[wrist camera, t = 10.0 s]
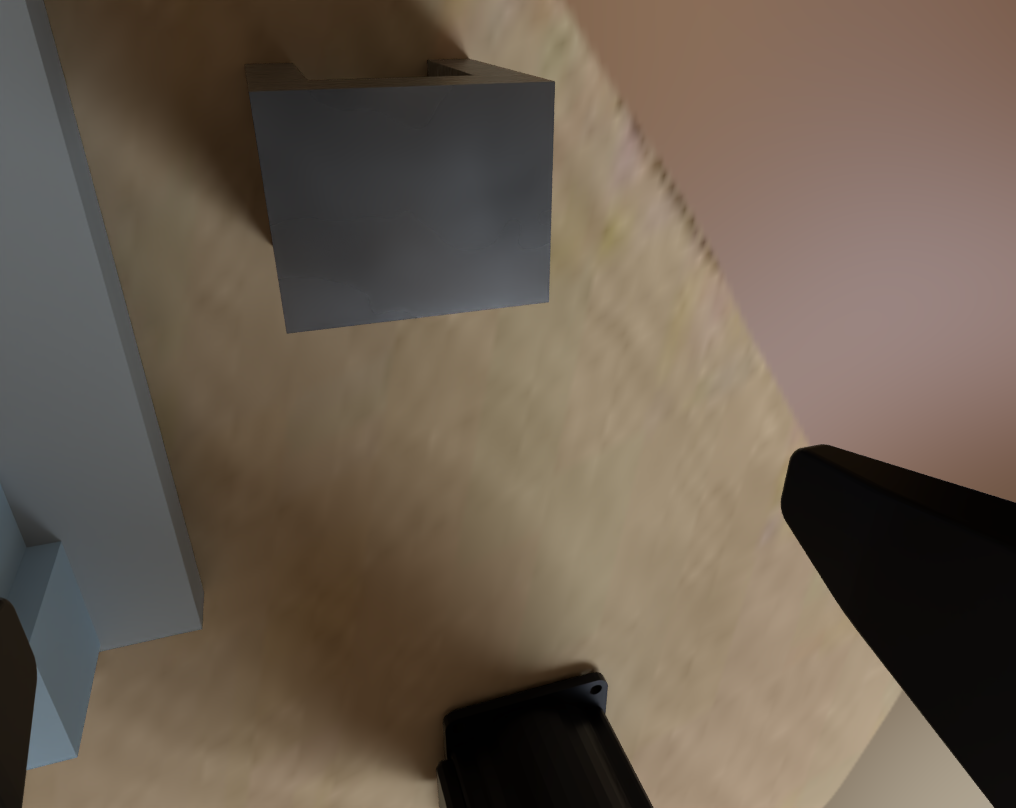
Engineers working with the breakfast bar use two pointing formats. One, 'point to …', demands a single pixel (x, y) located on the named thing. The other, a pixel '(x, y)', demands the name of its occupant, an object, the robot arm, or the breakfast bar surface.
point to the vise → (73, 412)
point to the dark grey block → (405, 191)
